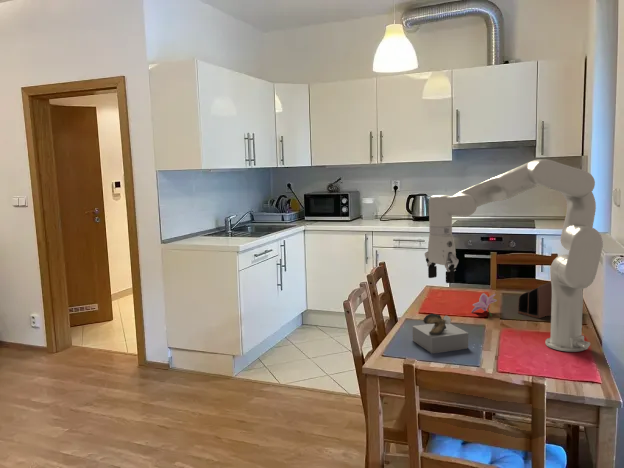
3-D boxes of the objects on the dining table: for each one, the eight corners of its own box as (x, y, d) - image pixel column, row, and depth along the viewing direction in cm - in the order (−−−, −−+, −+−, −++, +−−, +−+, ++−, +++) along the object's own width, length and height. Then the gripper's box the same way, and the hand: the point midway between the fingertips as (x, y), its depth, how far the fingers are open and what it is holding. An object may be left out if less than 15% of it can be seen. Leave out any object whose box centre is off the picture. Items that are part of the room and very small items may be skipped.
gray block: (468, 349, 178) (468, 332, 177) (432, 354, 174) (432, 337, 173) (446, 337, 191) (446, 321, 191) (412, 342, 187) (412, 326, 187)
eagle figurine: (428, 322, 186) (418, 324, 179) (440, 307, 184) (430, 308, 177) (444, 337, 182) (434, 339, 175) (456, 322, 180) (446, 324, 173)
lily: (501, 314, 221) (493, 293, 224) (506, 310, 210) (497, 288, 213) (474, 322, 222) (466, 301, 225) (477, 319, 211) (468, 297, 214)
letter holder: (567, 310, 219) (568, 278, 218) (538, 319, 209) (539, 285, 207) (546, 306, 228) (547, 274, 226) (517, 313, 217) (518, 281, 216)
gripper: (466, 232, 170) (466, 283, 172) (434, 228, 186) (434, 274, 188) (447, 234, 167) (448, 286, 169) (416, 229, 183) (417, 276, 185)
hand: (441, 280), depth 179 cm, fingers open, 9 cm apart
